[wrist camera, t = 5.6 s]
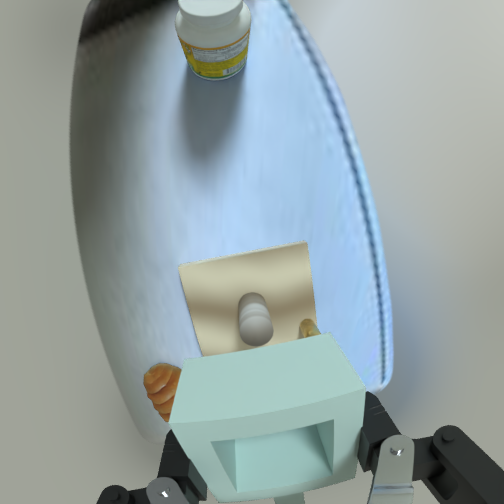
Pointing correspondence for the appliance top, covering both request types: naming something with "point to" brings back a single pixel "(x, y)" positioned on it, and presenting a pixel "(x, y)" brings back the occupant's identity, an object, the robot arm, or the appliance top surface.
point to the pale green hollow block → (271, 419)
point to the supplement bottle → (214, 36)
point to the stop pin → (309, 328)
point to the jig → (249, 298)
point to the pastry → (162, 387)
